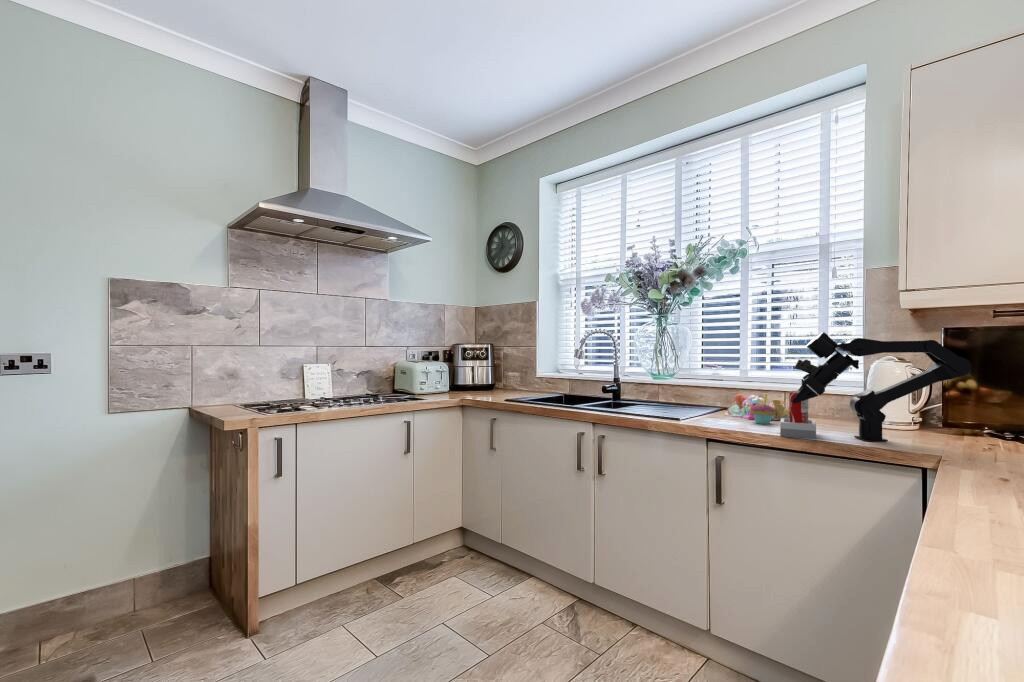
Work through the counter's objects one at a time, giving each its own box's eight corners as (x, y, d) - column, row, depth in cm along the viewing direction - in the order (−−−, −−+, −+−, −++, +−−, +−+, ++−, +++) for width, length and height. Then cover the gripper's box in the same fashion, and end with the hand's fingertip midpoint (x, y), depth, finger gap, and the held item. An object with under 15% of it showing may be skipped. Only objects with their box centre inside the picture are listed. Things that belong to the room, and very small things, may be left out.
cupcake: (780, 423, 187) (780, 392, 187) (763, 425, 184) (763, 392, 184) (761, 420, 195) (761, 390, 195) (744, 422, 192) (744, 390, 192)
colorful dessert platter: (792, 415, 211) (792, 393, 211) (790, 423, 190) (790, 399, 191) (729, 411, 224) (728, 391, 224) (720, 418, 203) (720, 395, 204)
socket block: (814, 433, 166) (814, 420, 166) (816, 438, 157) (816, 424, 158) (781, 431, 171) (780, 418, 171) (780, 435, 162) (780, 422, 162)
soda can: (787, 425, 168) (787, 389, 168) (806, 426, 166) (806, 390, 166) (790, 427, 163) (790, 391, 163) (809, 428, 161) (809, 391, 161)
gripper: (810, 350, 171) (774, 381, 176) (812, 351, 154) (772, 385, 160) (837, 373, 167) (799, 405, 172) (842, 377, 150) (800, 411, 156)
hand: (792, 401), depth 165 cm, fingers open, 9 cm apart
